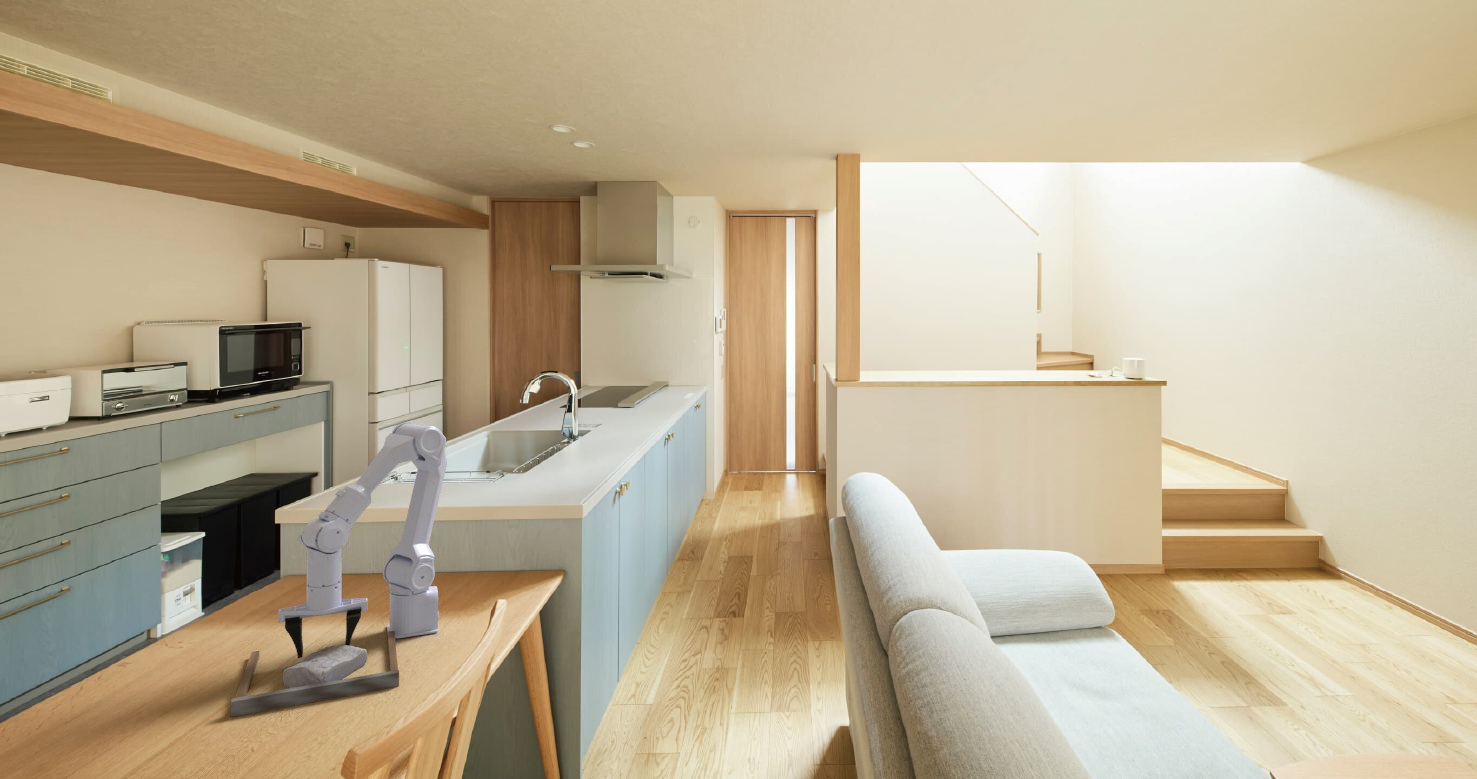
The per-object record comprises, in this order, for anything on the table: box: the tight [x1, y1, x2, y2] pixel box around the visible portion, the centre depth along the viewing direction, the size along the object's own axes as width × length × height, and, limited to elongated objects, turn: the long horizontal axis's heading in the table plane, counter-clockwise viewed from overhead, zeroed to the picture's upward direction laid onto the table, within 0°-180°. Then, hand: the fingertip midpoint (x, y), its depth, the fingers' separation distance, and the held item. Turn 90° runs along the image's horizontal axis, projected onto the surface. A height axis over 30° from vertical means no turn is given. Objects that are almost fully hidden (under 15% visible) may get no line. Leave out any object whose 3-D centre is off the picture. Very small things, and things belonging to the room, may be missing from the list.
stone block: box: [282, 644, 369, 689], centre depth 126 cm, size 12×5×10 cm
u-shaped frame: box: [230, 631, 400, 718], centre depth 126 cm, size 24×23×2 cm
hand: (324, 652), depth 131 cm, fingers open, 7 cm apart
